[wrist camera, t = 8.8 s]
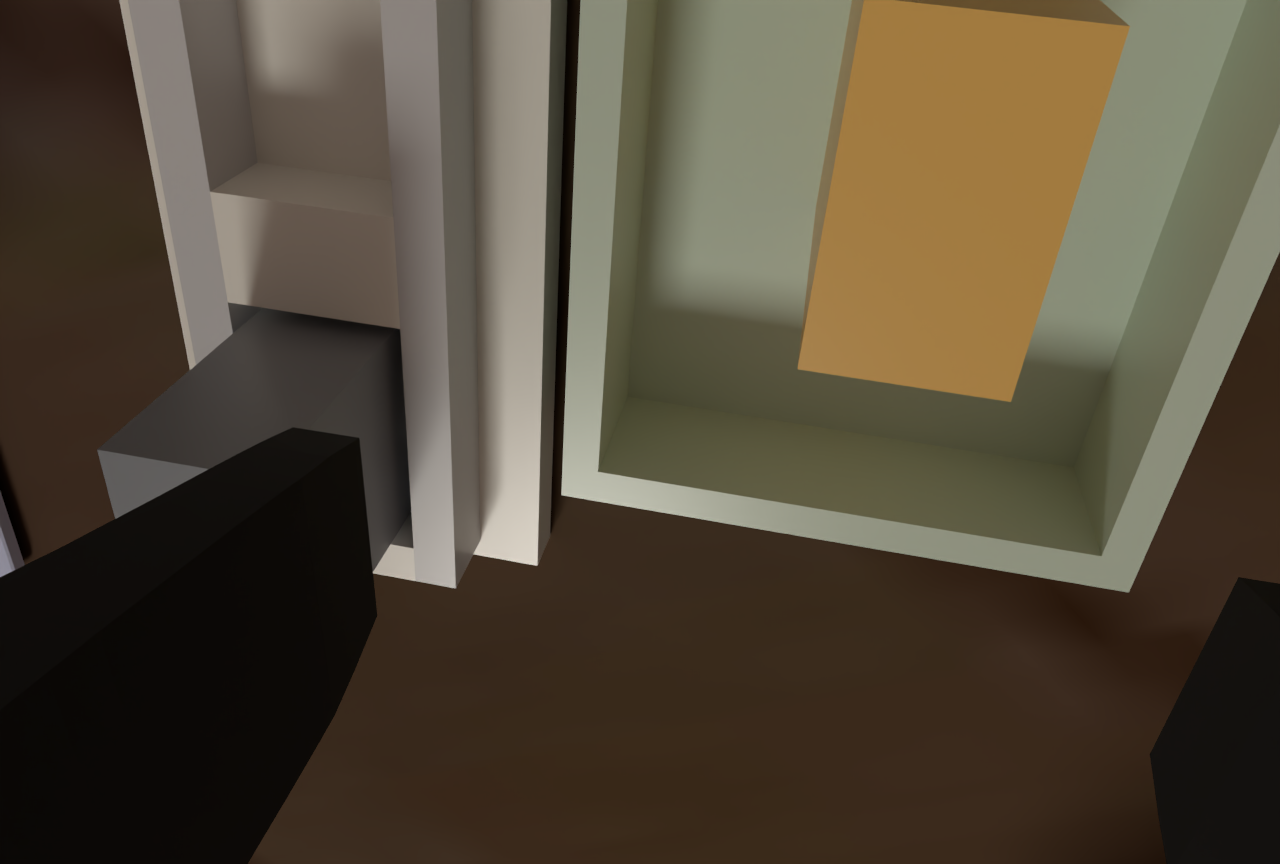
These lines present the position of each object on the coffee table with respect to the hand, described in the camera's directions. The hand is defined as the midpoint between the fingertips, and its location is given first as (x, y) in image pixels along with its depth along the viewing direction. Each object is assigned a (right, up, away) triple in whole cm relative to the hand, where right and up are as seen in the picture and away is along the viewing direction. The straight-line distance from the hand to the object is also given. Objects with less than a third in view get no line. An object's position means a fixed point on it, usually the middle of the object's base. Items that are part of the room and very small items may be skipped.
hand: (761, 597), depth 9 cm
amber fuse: (+3, +6, +6) cm, 10 cm away
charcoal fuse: (-6, +2, +11) cm, 12 cm away
